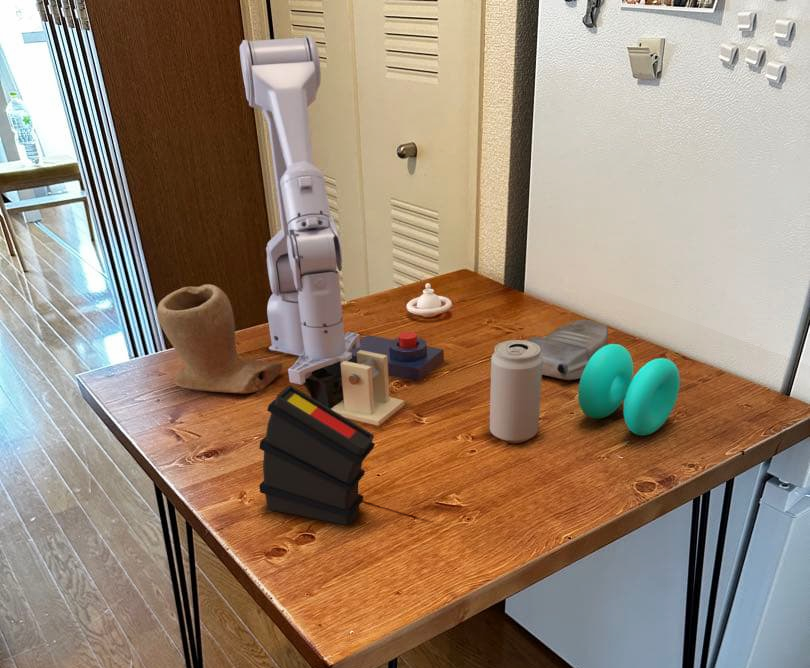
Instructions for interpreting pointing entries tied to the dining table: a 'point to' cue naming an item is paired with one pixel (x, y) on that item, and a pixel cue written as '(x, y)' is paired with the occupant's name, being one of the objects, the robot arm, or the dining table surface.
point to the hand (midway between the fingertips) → (331, 410)
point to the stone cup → (210, 343)
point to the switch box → (366, 391)
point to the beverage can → (515, 390)
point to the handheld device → (570, 348)
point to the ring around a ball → (429, 304)
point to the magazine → (312, 459)
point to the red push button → (407, 340)
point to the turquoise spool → (629, 389)
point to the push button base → (403, 356)
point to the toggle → (368, 363)
